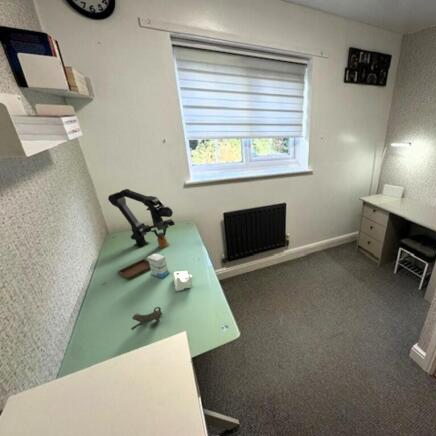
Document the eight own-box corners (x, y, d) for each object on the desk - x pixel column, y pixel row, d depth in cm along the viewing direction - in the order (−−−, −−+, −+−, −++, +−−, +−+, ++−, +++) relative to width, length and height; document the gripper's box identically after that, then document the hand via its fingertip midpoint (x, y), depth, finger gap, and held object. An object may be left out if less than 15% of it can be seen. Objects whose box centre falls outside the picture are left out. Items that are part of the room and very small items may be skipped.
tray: (118, 273, 137) (117, 270, 136) (144, 261, 149) (144, 258, 148) (129, 280, 131) (128, 277, 131) (155, 266, 143) (154, 263, 143)
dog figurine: (163, 314, 109) (160, 302, 106) (163, 323, 105) (159, 311, 102) (133, 322, 105) (129, 310, 102) (131, 332, 100) (127, 319, 97)
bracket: (190, 289, 127) (192, 276, 125) (176, 290, 123) (177, 278, 121) (186, 276, 137) (187, 264, 135) (172, 277, 133) (174, 265, 131)
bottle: (157, 246, 165) (154, 235, 161) (164, 243, 169) (162, 231, 166) (162, 248, 162) (159, 237, 159) (169, 245, 167) (167, 233, 163)
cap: (159, 238, 160) (158, 235, 159) (157, 236, 163) (156, 233, 162) (165, 236, 163) (164, 233, 162) (163, 234, 165) (162, 231, 164)
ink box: (169, 273, 138) (165, 256, 133) (161, 278, 133) (157, 260, 129) (159, 269, 141) (154, 252, 136) (151, 274, 137) (146, 257, 132)
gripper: (143, 223, 145) (149, 245, 152) (175, 215, 157) (179, 236, 163) (139, 218, 153) (145, 239, 159) (169, 211, 164) (173, 231, 171)
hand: (161, 236), depth 163 cm, fingers closed on cap, 4 cm apart
